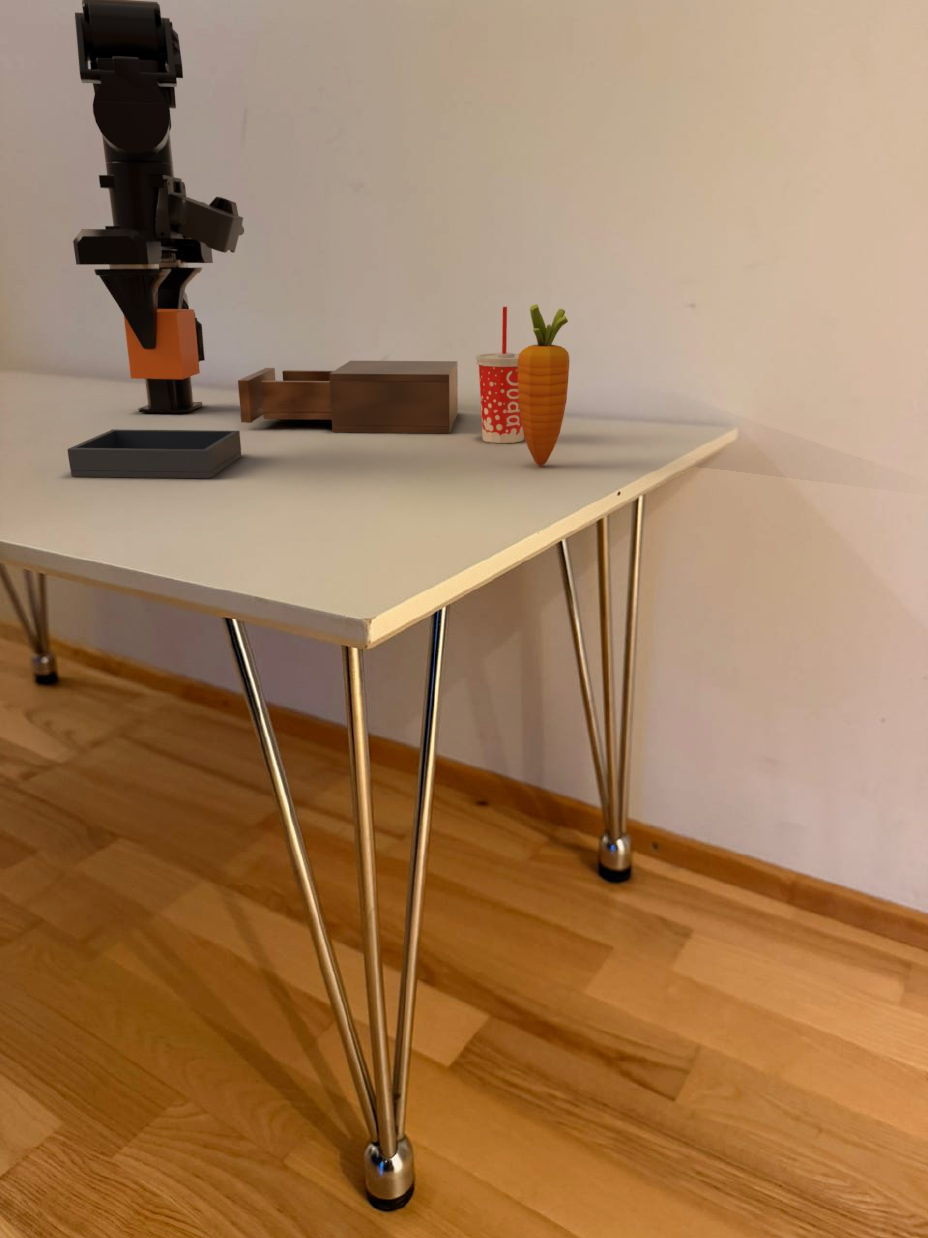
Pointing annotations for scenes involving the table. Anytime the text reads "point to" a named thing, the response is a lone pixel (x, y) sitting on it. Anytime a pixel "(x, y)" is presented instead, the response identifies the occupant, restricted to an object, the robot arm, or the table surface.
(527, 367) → the carrot
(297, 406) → the drawer
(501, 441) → the beverage cup
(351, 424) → the cabinet
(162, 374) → the cube
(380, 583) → the table surface
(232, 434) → the tray
